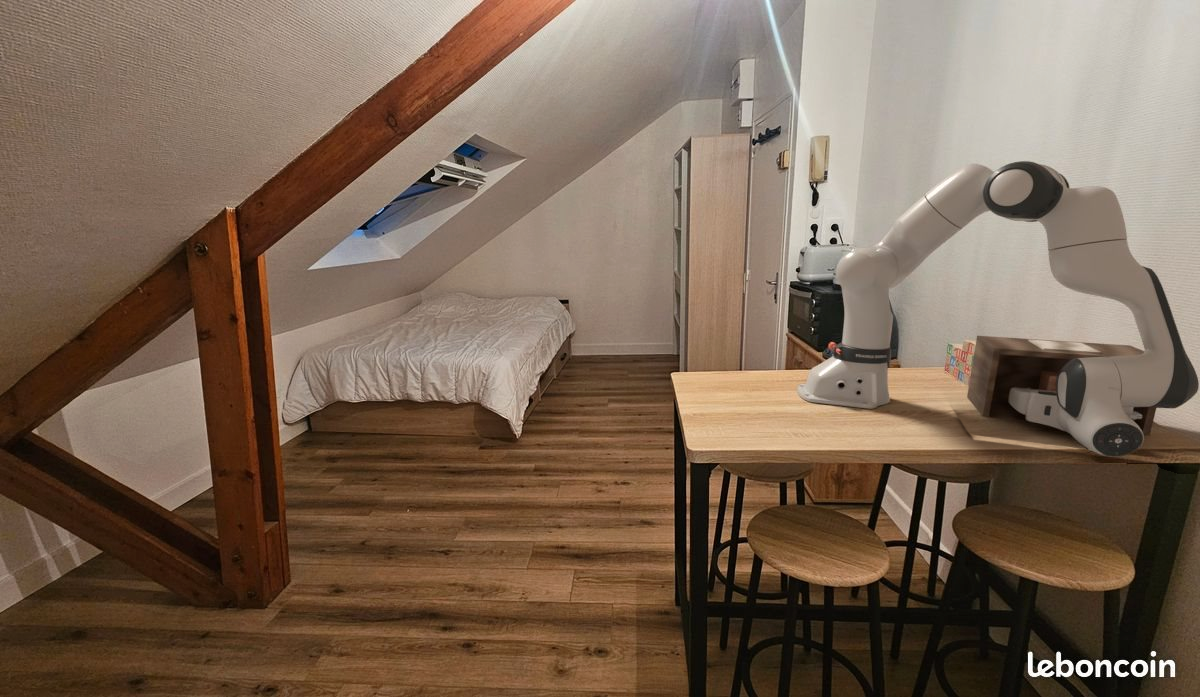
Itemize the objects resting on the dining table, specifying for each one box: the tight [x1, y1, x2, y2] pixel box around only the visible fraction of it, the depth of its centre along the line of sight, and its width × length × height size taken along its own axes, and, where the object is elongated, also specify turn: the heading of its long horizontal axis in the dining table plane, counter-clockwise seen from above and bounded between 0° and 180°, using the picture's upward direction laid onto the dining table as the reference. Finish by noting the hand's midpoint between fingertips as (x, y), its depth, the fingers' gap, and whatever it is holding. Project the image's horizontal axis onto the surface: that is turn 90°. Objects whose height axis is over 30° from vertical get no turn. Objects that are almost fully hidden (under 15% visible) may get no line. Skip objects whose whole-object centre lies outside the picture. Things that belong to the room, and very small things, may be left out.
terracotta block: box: [1038, 371, 1059, 391], centre depth 121 cm, size 5×5×10 cm
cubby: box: [966, 335, 1157, 436], centre depth 121 cm, size 29×15×18 cm, turn 67°
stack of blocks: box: [944, 339, 976, 387], centre depth 151 cm, size 21×6×12 cm, turn 169°
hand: (1054, 393), depth 121 cm, fingers open, 8 cm apart
